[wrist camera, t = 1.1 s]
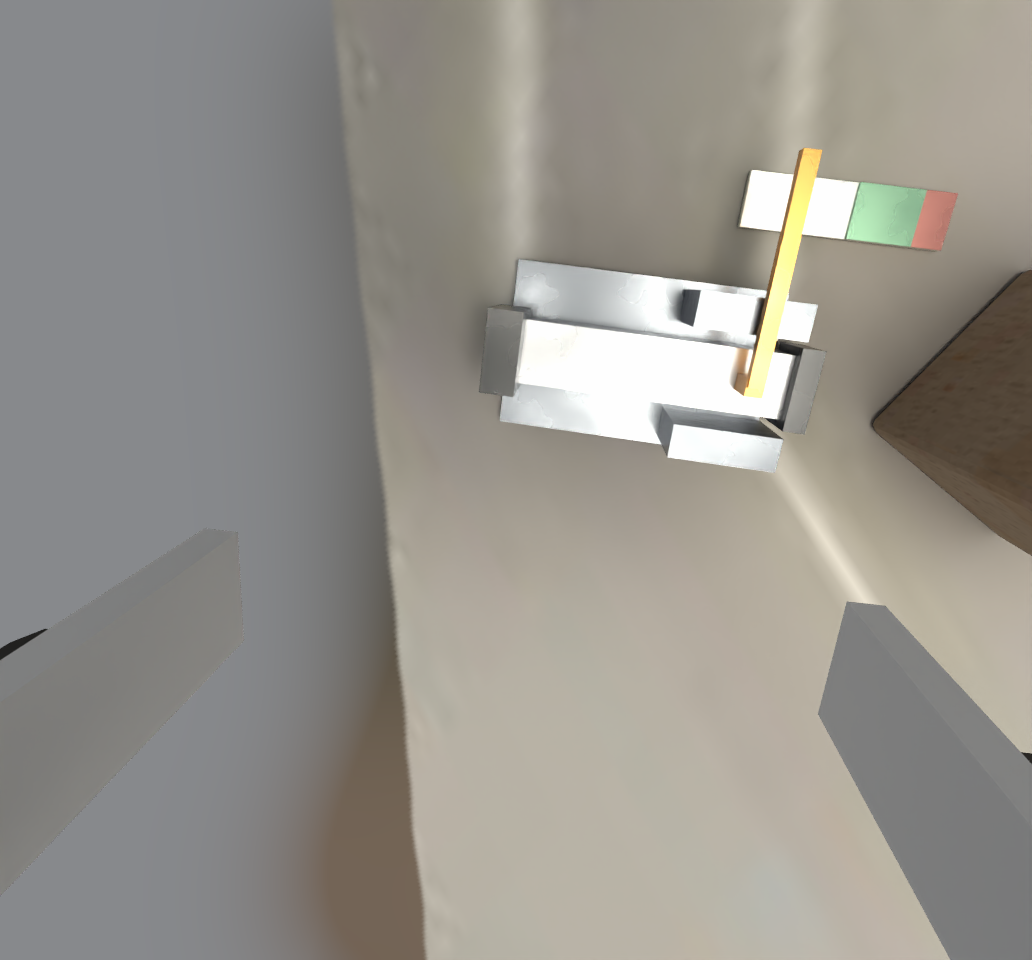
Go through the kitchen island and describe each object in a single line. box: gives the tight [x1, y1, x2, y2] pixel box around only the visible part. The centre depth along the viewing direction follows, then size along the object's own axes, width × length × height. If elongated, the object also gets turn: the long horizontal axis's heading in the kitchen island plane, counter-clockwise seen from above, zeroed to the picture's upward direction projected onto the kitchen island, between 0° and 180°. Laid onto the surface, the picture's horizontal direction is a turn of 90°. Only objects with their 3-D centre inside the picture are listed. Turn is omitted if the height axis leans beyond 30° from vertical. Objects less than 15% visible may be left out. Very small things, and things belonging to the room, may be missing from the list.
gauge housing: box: [500, 170, 958, 473], centre depth 31 cm, size 14×20×5 cm
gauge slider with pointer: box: [479, 148, 826, 434], centre depth 30 cm, size 11×15×5 cm
